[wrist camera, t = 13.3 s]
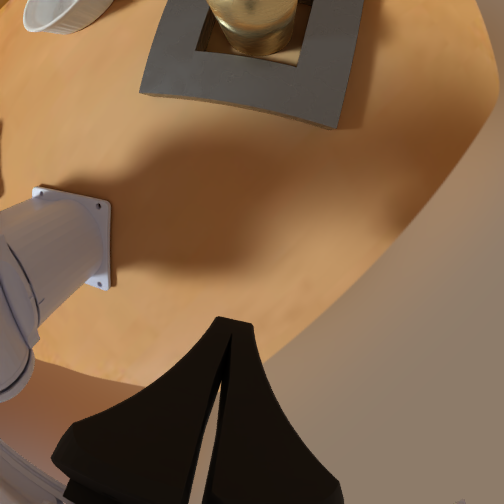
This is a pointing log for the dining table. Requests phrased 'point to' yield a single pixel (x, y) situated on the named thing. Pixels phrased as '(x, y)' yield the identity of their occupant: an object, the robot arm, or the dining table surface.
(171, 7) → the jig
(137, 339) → the dining table surface
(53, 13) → the ramekin
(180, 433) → the robot arm
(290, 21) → the bushing
